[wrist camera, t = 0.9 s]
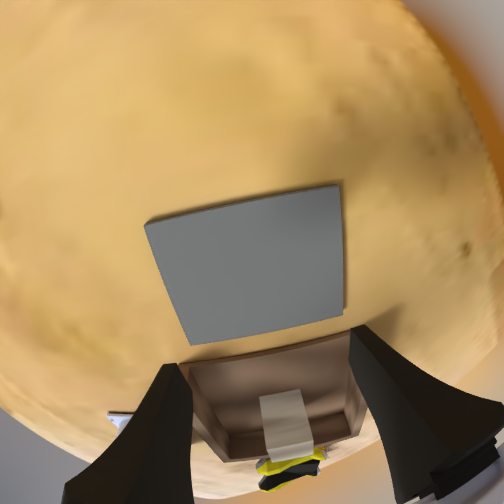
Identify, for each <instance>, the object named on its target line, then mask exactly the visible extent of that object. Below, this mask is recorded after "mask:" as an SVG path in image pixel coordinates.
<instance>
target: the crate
mask: <svg viewBox="0 0 504 504" xmlns="http://www.w3.org/2000/svg"><path fill="white" fill-rule="evenodd" d="M350 331H351V330H350ZM350 331H347V332H343V333H339V334H336V335H332V336H328V337H324V338H320V339H316V340H312V341H308V342H304V343H300V344H295V345H291V346H286V347H282V348H277V349H272V350H267V351H262V352H257V353H251V354H246V355H240V356H234V357H228V358H222V359H215V360H208V361H200V362H193V363H184V364H178V367H179V369H180V370H181V372H182V374H183V376H184V377H185V379H186V381H187V382H188V384H189V386H190V387H191V389H192V391H193V425H192V426H193V427H194V429H195V430H196V431H197V432H198V433H199V435H200V436H201V437H202V438H203V440H204V441H205V442H206V443H207V444H208V445H209V447H210V448H211V449H212V450H213V451H214V452H215V453H216V455H217V456H218V457H219V458H220V459H221V460H222V461H223V462H224V463H226V462H237V461H247V460H255V459H262V458H269V457H270V456H269V454H268V452H267V450H266V443H265V436H264V429H263V421H262V414H261V407H260V400H259V397H261V396H266V395H272V394H277V393H282V392H287V391H291V390H296V389H300V391H301V395H302V398H303V402H304V406H305V410H306V414H307V417H308V421H309V425H310V429H311V433H312V437H313V449H314V448H318V447H322V446H325V445H329V444H333V443H336V442H340V441H343V440H346V439H349V438H353V437H356V436H358V435H359V433H360V430H361V427H362V424H363V421H364V418H365V414H366V411H367V408H368V406H367V404H366V402H365V400H364V397H363V395H362V393H361V391H360V389H359V387H358V385H357V383H356V381H355V378H354V376H353V373H352V370H351V367H350V364H349V361H348V357H349V345H350Z"/></svg>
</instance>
